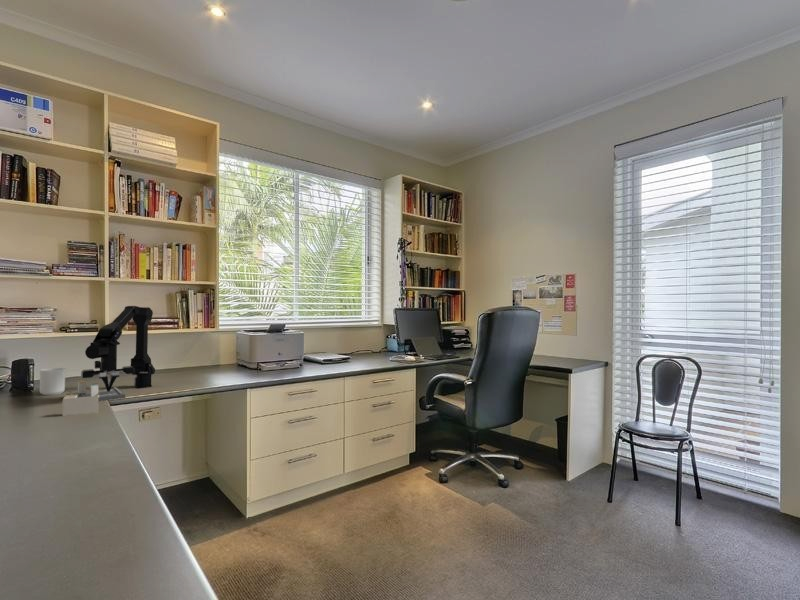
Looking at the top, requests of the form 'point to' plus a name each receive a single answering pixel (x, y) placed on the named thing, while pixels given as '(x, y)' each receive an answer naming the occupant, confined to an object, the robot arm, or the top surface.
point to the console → (102, 394)
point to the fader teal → (93, 389)
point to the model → (80, 405)
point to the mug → (52, 381)
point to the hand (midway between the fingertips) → (108, 391)
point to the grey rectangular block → (81, 387)
